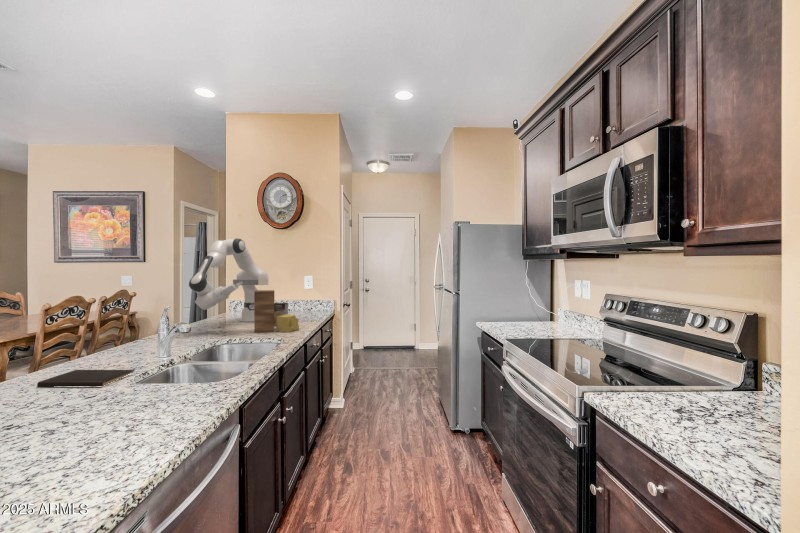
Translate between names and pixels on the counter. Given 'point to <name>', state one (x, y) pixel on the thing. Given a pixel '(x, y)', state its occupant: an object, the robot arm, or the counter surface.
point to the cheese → (287, 323)
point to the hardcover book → (85, 378)
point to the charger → (252, 281)
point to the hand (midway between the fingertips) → (243, 281)
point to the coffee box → (280, 310)
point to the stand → (263, 311)
